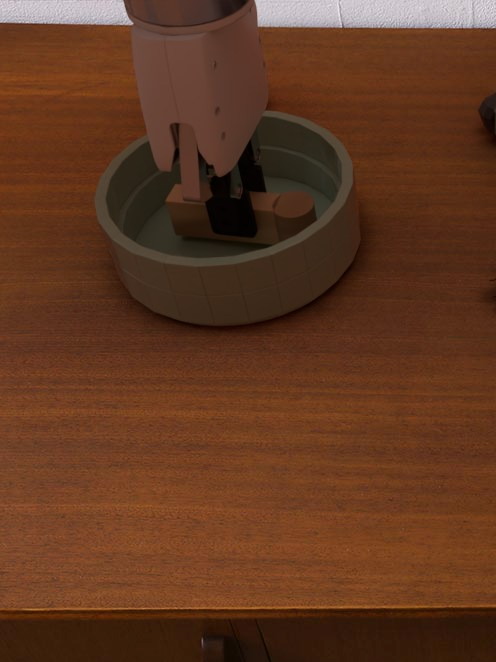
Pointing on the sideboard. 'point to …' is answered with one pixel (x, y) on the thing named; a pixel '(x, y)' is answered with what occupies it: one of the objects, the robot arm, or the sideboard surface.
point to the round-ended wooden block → (269, 209)
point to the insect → (493, 280)
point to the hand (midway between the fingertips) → (241, 220)
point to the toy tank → (489, 114)
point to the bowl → (224, 255)
